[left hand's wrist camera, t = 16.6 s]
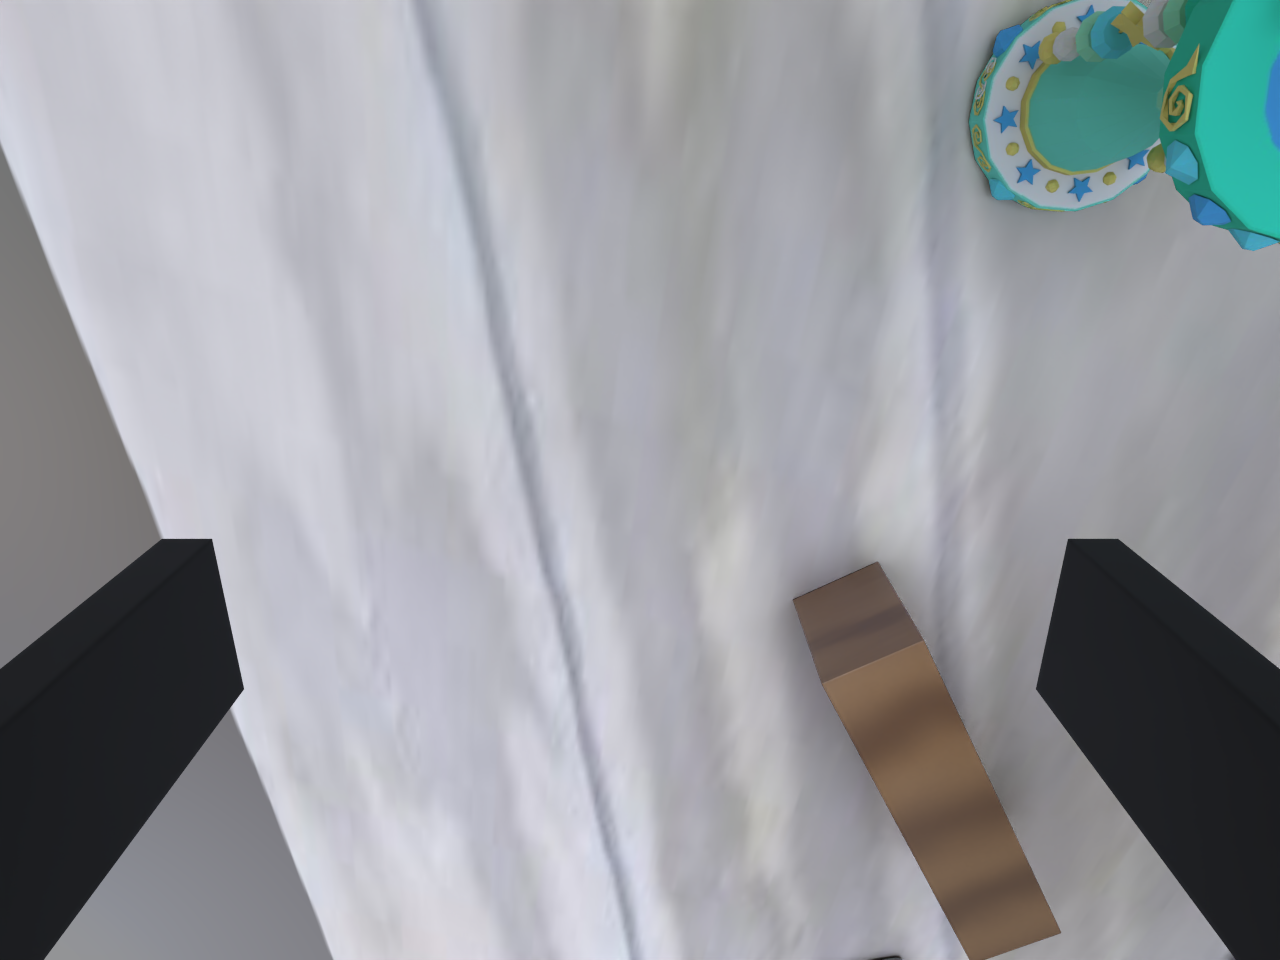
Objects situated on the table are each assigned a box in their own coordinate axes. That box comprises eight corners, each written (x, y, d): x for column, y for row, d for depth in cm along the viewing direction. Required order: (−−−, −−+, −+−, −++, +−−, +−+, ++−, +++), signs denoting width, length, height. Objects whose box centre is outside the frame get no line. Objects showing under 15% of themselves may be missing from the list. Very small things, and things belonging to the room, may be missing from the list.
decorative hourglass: (1217, 87, 42) (2338, -43, 14) (1056, 260, 45) (1718, 429, 18) (1074, -65, 40) (2090, -577, 12) (914, 129, 43) (1422, 84, 15)
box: (792, 599, 54) (821, 683, 45) (877, 561, 53) (923, 639, 44) (926, 852, 62) (972, 964, 53) (1002, 823, 60) (1061, 933, 52)
